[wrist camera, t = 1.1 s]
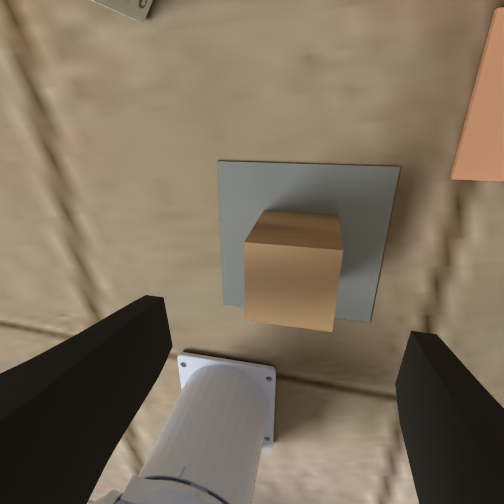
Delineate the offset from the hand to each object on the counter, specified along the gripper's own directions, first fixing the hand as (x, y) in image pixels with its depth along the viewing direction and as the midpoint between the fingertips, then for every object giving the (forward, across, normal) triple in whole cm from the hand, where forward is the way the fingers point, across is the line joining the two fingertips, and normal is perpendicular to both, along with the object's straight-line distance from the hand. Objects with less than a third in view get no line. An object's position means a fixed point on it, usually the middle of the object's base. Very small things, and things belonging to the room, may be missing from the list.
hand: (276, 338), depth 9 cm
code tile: (+10, 0, +2) cm, 11 cm away
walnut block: (+10, 0, +2) cm, 11 cm away
